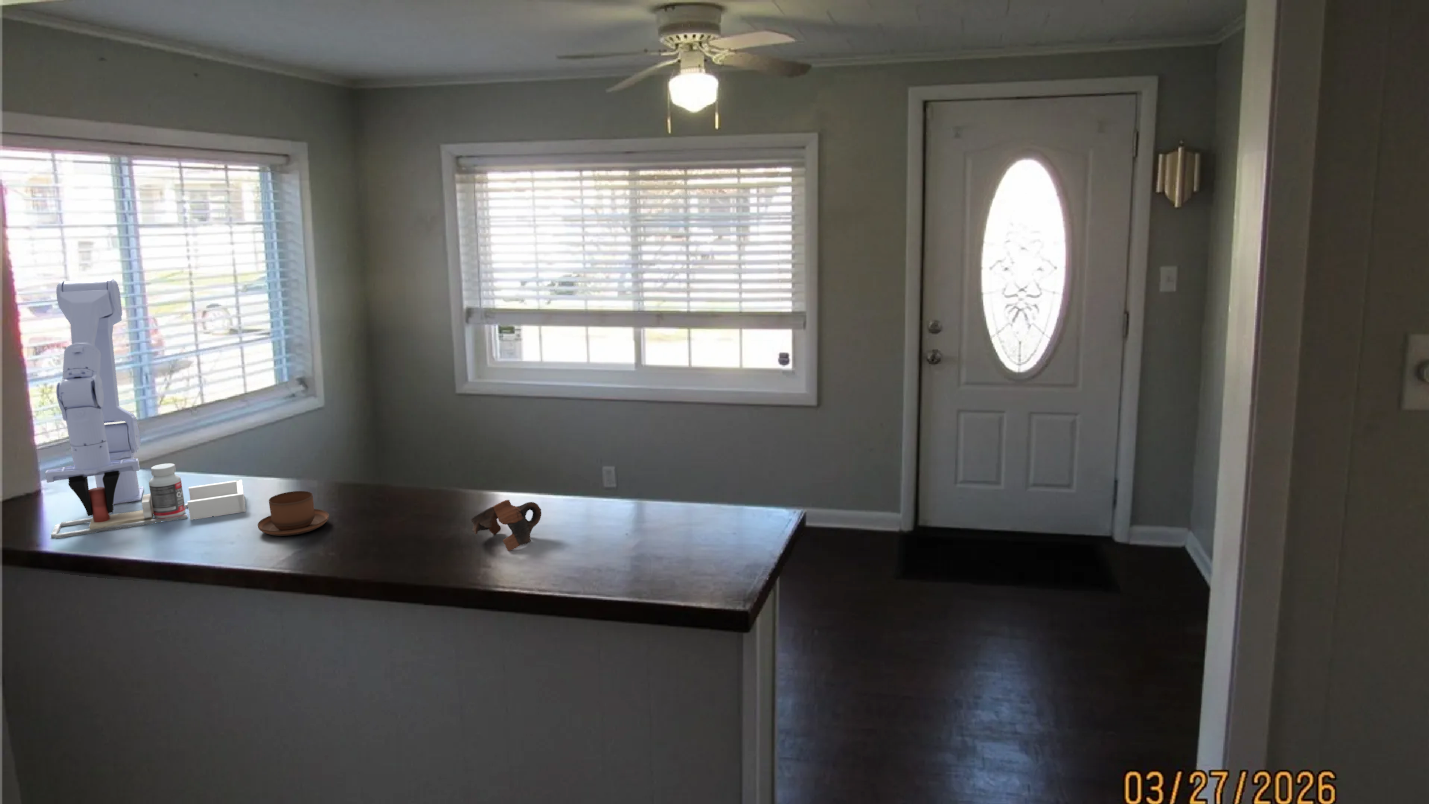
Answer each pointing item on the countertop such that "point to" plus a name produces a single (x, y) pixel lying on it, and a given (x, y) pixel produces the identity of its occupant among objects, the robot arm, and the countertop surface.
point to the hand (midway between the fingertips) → (100, 512)
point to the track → (106, 528)
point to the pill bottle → (166, 491)
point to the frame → (216, 499)
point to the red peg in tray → (104, 519)
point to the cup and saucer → (292, 514)
